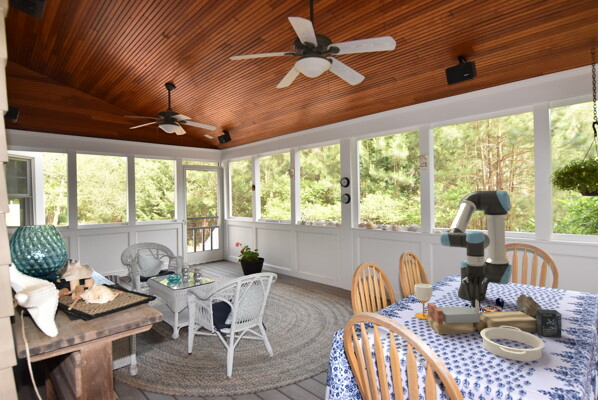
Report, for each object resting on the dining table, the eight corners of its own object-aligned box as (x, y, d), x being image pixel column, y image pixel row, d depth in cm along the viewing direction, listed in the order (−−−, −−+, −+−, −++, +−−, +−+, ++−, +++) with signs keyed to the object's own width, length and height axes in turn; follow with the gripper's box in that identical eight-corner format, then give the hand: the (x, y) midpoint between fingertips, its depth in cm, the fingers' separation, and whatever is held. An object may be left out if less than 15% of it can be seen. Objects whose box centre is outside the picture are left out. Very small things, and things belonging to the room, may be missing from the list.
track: (427, 323, 166) (427, 302, 166) (519, 321, 168) (519, 300, 168) (438, 334, 154) (438, 311, 154) (537, 331, 156) (537, 308, 156)
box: (541, 336, 150) (541, 312, 150) (535, 331, 155) (535, 308, 155) (562, 338, 148) (562, 313, 148) (555, 332, 154) (555, 309, 153)
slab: (436, 315, 165) (436, 307, 165) (468, 314, 166) (468, 306, 166) (446, 323, 155) (445, 314, 155) (480, 322, 156) (480, 313, 156)
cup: (432, 314, 179) (432, 284, 179) (433, 320, 171) (433, 288, 170) (414, 312, 182) (414, 282, 182) (414, 318, 174) (414, 287, 173)
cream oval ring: (550, 372, 121) (550, 359, 121) (479, 358, 132) (479, 346, 132) (540, 341, 146) (540, 330, 146) (481, 331, 157) (481, 321, 157)
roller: (474, 325, 166) (464, 322, 166) (476, 315, 166) (467, 312, 166) (486, 333, 156) (476, 331, 156) (488, 323, 156) (478, 320, 156)
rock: (530, 323, 171) (545, 310, 168) (509, 305, 177) (524, 292, 174) (530, 320, 179) (545, 307, 176) (510, 302, 184) (524, 290, 181)
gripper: (466, 266, 156) (466, 317, 157) (493, 265, 157) (494, 316, 157) (457, 263, 164) (458, 311, 164) (484, 262, 164) (484, 310, 165)
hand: (475, 314), depth 161 cm, fingers closed
